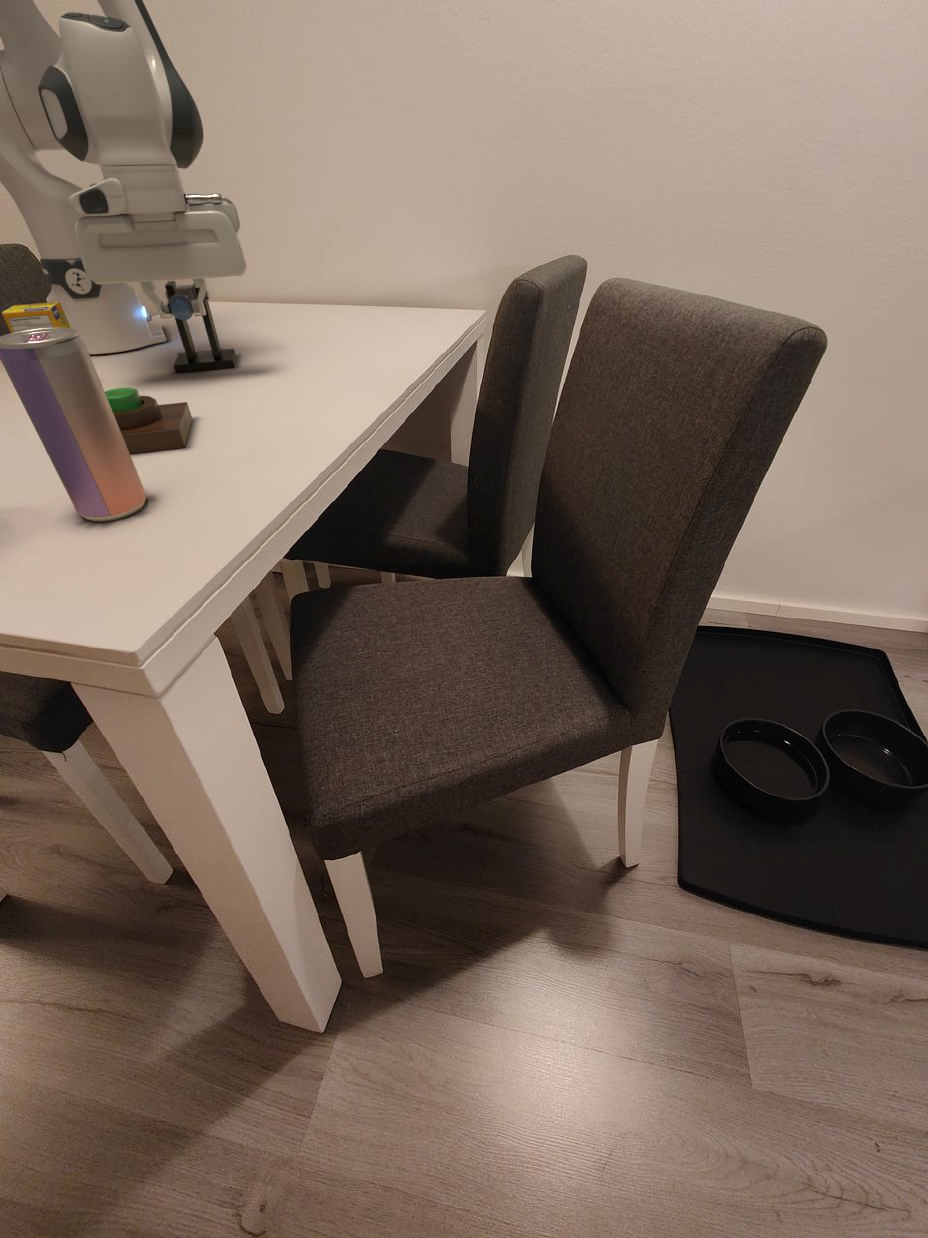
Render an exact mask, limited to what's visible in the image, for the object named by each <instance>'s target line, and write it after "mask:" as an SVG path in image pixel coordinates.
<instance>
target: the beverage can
mask: <svg viewBox="0 0 928 1238" xmlns="http://www.w3.org/2000/svg"><path fill="white" fill-rule="evenodd" d="M0 362H1V364H2V365H3V368H4V370H5V371H6V373H7V376H8V377H9V379H10V382H11V383H12V386H13V388H14V389H15V391H16V394H17V395H18V397H19V400H20V401H21V404H22V405H23V408H24V409H25V412H26V414H27V416H28V418H29V419H30V421H31V423H32V425H33V428H34V429H35V431H36V434H37V435H38V438H39V439H40V441H41V444H42V445H43V447H44V449H45V452H46V453H47V455H48V457H49V459H50V461H51V463H52V465H53V468H54V469H55V471H56V474H57V475H58V477H59V479H60V481H61V483H62V485H63V487H64V489H65V491H66V493H67V496H68V497H69V499H70V501H71V503H72V505H73V507H74V510H75V511H76V513H77V514H79V515H80V516H81V517H83V518H84V519H86V520H88V521H91V522H92V521H93V522H109V521H110V522H111V521H116V520H119V519H124V518H127V517H128V516H131V515H133V514H135V513H136V512H138V511H139V510H141V509H142V508H143V507H144V505H145V503H146V498H147V494H146V490H145V488H144V485H143V483H142V481H141V480H142V479H141V478H140V476H139V473H138V471H137V468H136V466H135V463H134V461H133V459H132V455H131V454H130V453H129V451H128V448H127V446H126V443H125V441H124V439H123V436H122V434H121V431H120V429H119V426H118V424H117V421H116V419H115V416H114V414H113V412H112V409H111V407H110V404H109V402H108V399H107V397H106V394H105V389H104V386H103V385H102V382H101V380H100V376H98V375H99V374H98V372H97V370H96V367H95V365H94V363H93V360H92V358H91V354H89V353H88V350H87V348H86V345H85V344H84V343H83V341H82V340H81V339H80V338H79V336H78V332H77V331H76V330H75V329H72V328H64V327H55V328H40V329H32V330H25V331H20V332H15V333H11V332H10V333H7V334H4V335H1V336H0Z"/></svg>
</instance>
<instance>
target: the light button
mask: <svg viewBox="0 0 928 1238" xmlns="http://www.w3.org/2000/svg"><path fill="white" fill-rule="evenodd" d="M104 392H105V394H106V397H107V399H108V402H109V404H110V407H111V409H112V412H117V411H126V410H130V409H134V408H137V407H139V406H141V405H143V404H142V402H141V399H140V396H141V395H140V393H139V390H138V389H137V388H134V387H118V388H111V389H108V390H104Z"/></svg>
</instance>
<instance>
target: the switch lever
mask: <svg viewBox="0 0 928 1238" xmlns="http://www.w3.org/2000/svg"><path fill="white" fill-rule="evenodd" d="M177 291H178V295H174V296H172V297H171V298H170V300H169V310H170V312H171V313H172V315H173V318H175V317H176V318H177V319H180V320H187V321H188V320H190V319H191V318H192V317H193V315H194V312H193V311H194V309H193V308H192V305H191V302H192V301H194V300H197V296H196V292H195V289H194V285H193V284H186V285H178V286H177Z"/></svg>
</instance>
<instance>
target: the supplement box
mask: <svg viewBox="0 0 928 1238" xmlns="http://www.w3.org/2000/svg"><path fill="white" fill-rule="evenodd" d="M2 316H3V319H4V321H5V324H6V325H7V327H8V329H9V331H10V333H15V332H20V331H25V330H32V329H40V328H55V327H64V328H71V327H70V325H69V323H68V320H67V318H66V316H65V313H64V311H63V309H62V306H61V304H60V302H52V303H47V302H42V303H41V302H40V303H29V304H28V303H27V304H15V305H14V304H13V305H12V306H10V307H9V308H7V309H5V310H4V311H2Z"/></svg>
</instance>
